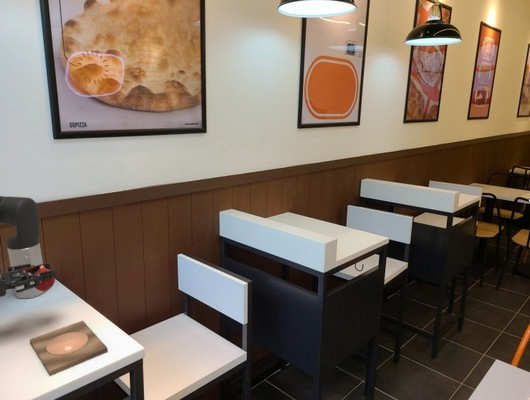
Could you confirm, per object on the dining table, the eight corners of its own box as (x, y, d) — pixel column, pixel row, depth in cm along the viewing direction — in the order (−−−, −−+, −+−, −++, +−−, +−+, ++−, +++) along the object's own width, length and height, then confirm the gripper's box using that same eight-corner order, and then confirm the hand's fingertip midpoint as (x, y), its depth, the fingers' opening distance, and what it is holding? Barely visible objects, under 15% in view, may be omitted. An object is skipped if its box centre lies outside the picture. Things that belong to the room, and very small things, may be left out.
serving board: (30, 343, 112) (29, 338, 111) (83, 324, 121) (82, 319, 120) (50, 375, 99) (49, 370, 98) (107, 351, 108) (107, 346, 108)
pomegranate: (57, 293, 119) (54, 267, 116) (35, 298, 116) (31, 272, 113) (55, 284, 123) (51, 260, 121) (33, 289, 120) (29, 264, 118)
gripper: (-17, 283, 103) (57, 265, 113) (-23, 265, 114) (44, 250, 124) (-12, 310, 105) (60, 290, 115) (-18, 290, 116) (48, 273, 126)
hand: (52, 269), depth 119 cm, fingers closed on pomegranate, 5 cm apart
